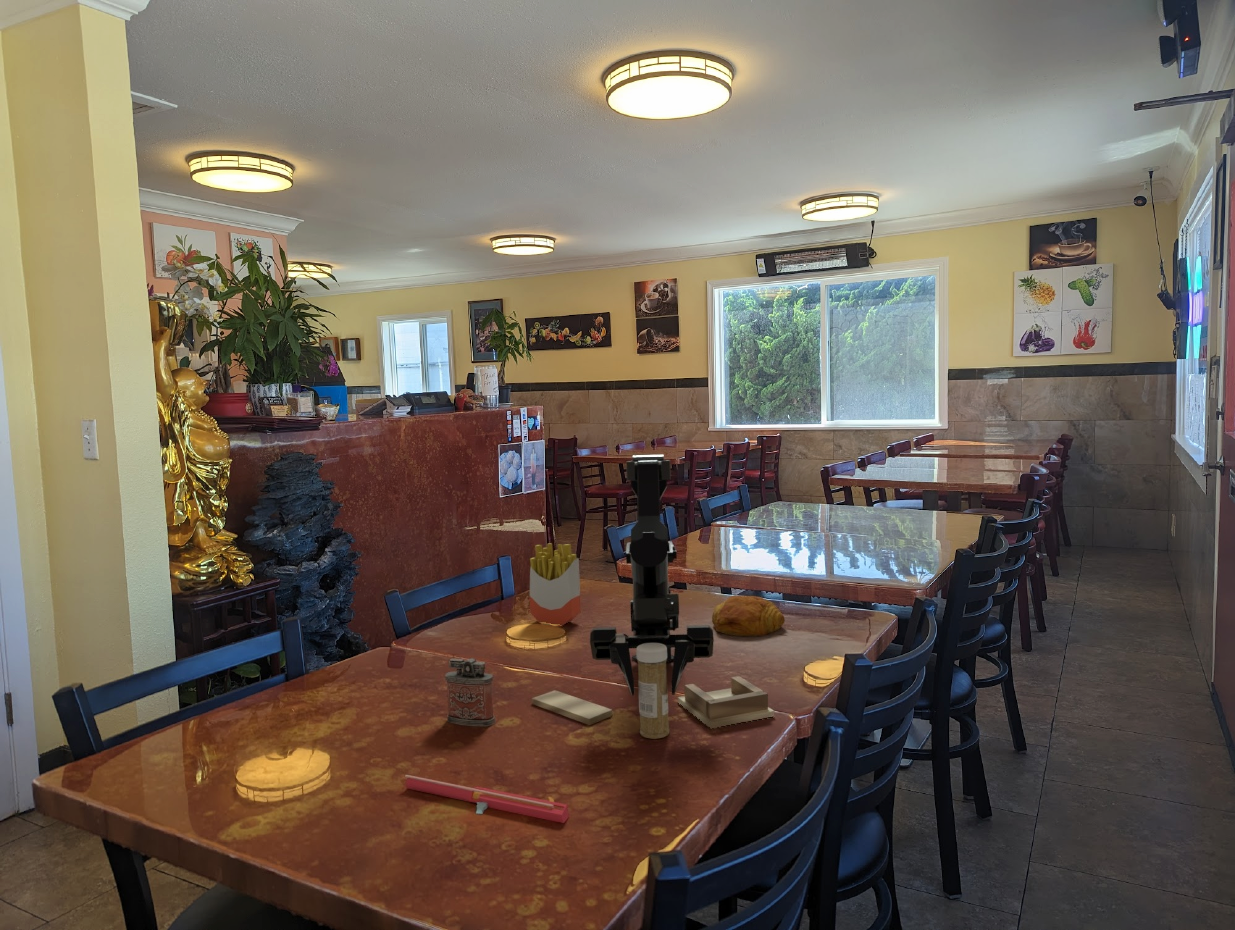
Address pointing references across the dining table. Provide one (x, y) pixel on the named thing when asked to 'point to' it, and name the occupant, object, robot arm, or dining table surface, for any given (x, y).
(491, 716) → the lighter
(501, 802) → the red bar
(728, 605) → the croissant
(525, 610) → the dining table surface
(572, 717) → the loose plank
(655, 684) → the sprinkles bottle
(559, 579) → the french fries container
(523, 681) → the dining table surface
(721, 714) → the beige wooden u-shaped tray
